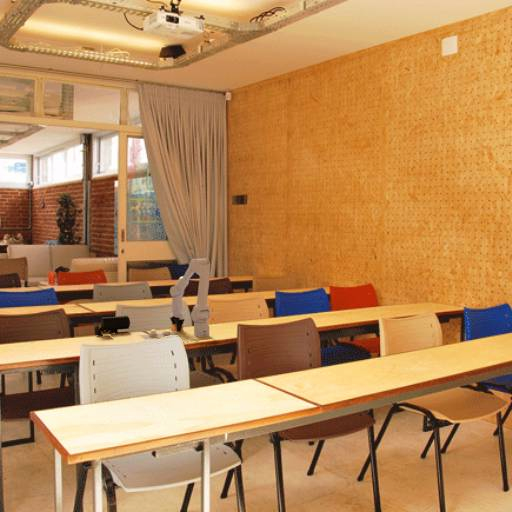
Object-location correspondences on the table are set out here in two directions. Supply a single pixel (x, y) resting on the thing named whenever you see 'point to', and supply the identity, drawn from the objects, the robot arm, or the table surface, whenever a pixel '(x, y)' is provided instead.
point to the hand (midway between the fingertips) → (177, 330)
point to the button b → (153, 331)
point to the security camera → (113, 324)
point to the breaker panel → (157, 335)
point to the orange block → (174, 328)
